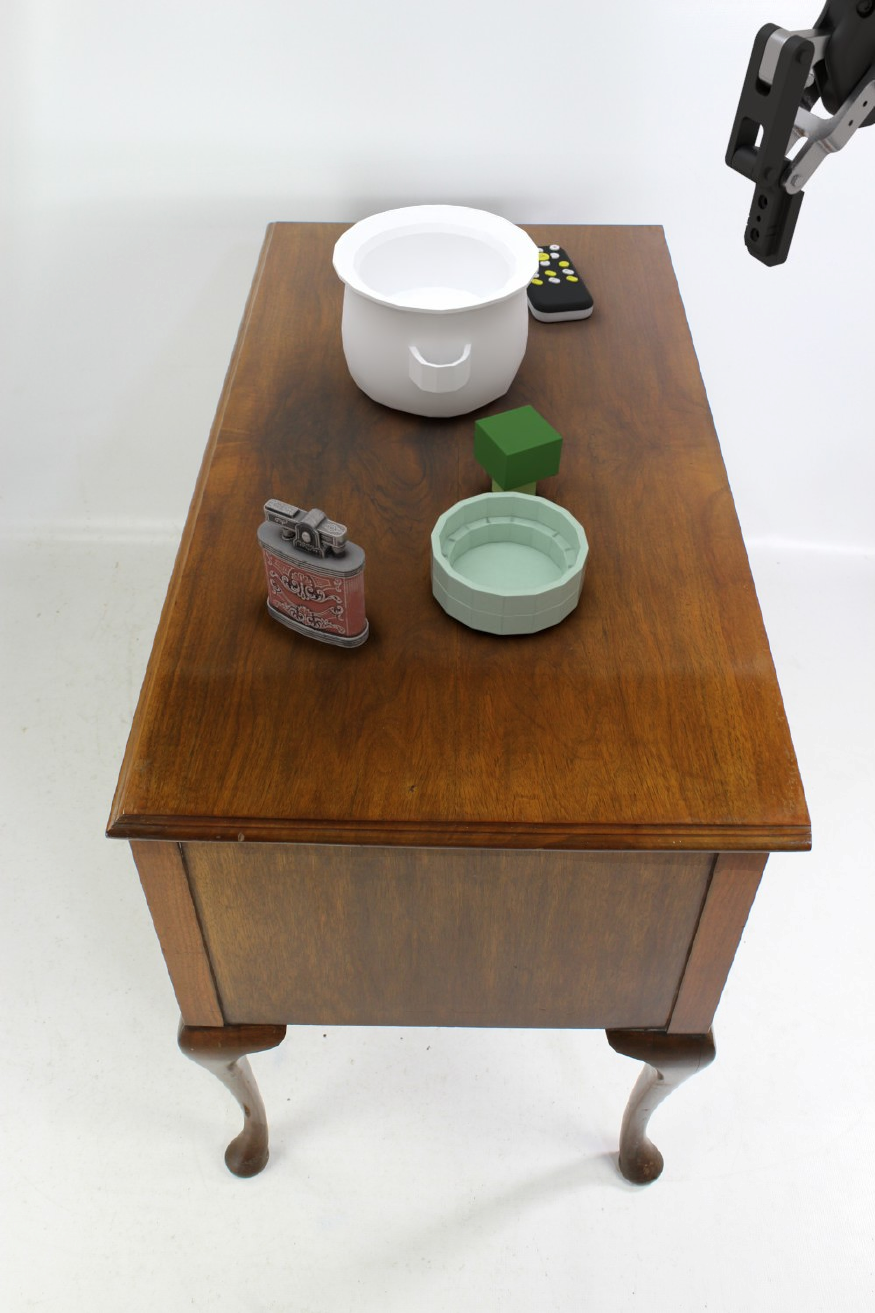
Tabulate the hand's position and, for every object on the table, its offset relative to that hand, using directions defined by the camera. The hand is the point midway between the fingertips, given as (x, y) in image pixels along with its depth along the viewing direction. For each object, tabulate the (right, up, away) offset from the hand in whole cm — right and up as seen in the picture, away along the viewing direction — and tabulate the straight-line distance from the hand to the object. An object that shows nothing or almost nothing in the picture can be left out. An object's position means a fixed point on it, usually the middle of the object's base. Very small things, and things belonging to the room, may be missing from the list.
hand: (831, 241), depth 54 cm
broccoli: (-14, -8, +33) cm, 37 cm away
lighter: (-29, -19, +24) cm, 41 cm away
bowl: (-15, -16, +26) cm, 34 cm away
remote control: (-8, +16, +56) cm, 59 cm away
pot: (-20, +5, +45) cm, 49 cm away
